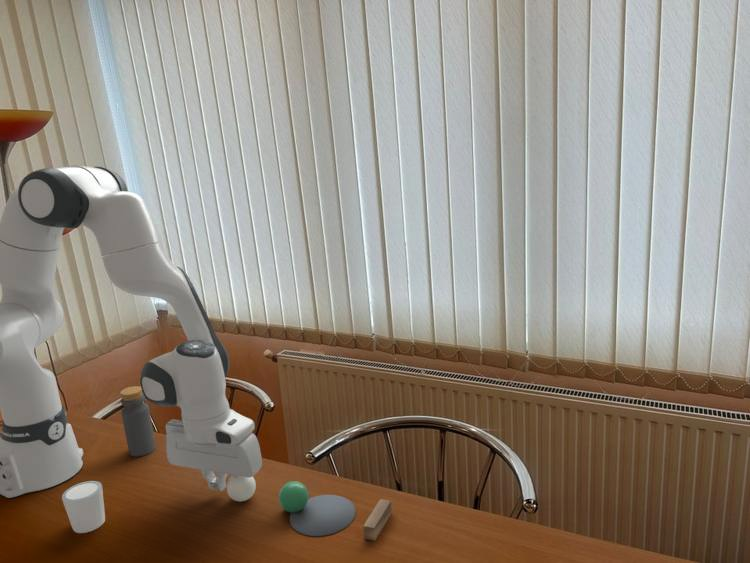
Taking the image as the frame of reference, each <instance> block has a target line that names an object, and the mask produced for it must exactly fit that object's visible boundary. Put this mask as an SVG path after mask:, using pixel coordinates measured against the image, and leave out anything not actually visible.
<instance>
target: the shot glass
mask: <svg viewBox="0 0 750 563" xmlns="http://www.w3.org/2000/svg"><path fill="white" fill-rule="evenodd" d="M103 491H104V490H103V484H102V483H101V482H100V481H95V480H88V481H83V482H80V483H76V484H74V485H72V486H70V487H69V488H67V489H66V490H65V491H64V492H63V493H62V495H61V500H62V503H63V506H64V508H65V511H66V514H67V517H68V520H69V522H70V525H71V526H70V527H71V528H72V531H74V532H75V533H77V534H86V533H88V532H89V533H90V532H93V531H94V530H97V529H99V528H100V527H101V526H103V524H104V523H105V521H106V514H105V513H106V512H105V503H104V492H103Z"/></svg>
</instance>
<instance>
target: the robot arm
mask: <svg viewBox="0 0 750 563" xmlns="http://www.w3.org/2000/svg"><path fill="white" fill-rule="evenodd" d="M19 183H20V184H19V186H18V188H15V189H14V190H13V191H12V192H11V193H10V194H9V197H8V199H7V200H6V204H5V206H4V208H3V212H2V215H1V218H0V289H1V299H0V413H1V415H2V420H1V421H0V428H1V432H0V495H1V496H4V497H5V498H8V499H10V498H11V499H12V498H16V497H18V496H22V495H25V494H27V493H33V492H37V491H42V490H46V489H49V488H52V487H55V486H57V485H59V484H62V483H63V482H66V481H67V480H69V479H71V478H72V477H74V476H75V475H76V474H77V473H79V472H80V470H81V468H82V467H83V464H84V462H83V460H82V458H83V456H84V450H83V448H82V447H79V446H78V443H77V439H76V436H75V434H74V430H73V428H72V425H71V424H70V423H68V417H67V412H66V409H65V407H64V405H62V402H61V397H60V392H59V387H58V384H57V379H56V378H57V377H56V376H55V374H54V373H53V372H52V371H51V370H49V369H48V368H44V367H42V366H41V364H40V363H39V361H38V359H37V358H36V357H37V356H36V354H35V348H37V347H39V346H40V345H42V344H43V343H45V342H46V341H48V340H50V339H51V337H53V335H54V334H56V332H57V331H58V330H59V329H60V327H61V326H62V324H63V322H64V318H65V317H64V316H65V315H64V310H63V307H62V305H61V304H60V302H59V301H58V300H57V299H56V298H57V297H56V292H55V279H56V278H55V277H56V271H57V266H58V261H59V255H60V250H61V244H62V240H63V239H62V238H63V233H64V230H65V229H73V230H75V229H78V228H79V227H80V226H83V227H85V228H88V229H89V230H90V231H91V232H92V233H93V235H94V236H95V239H96V241H97V244H98V249H99V251H100V255H101V259H102V262H103V265H104V268H105V271H106V274H107V276H108V278H109V279H110V281H111V283H112V284H113V285H114V286H116V287H117V289H120V290H121V291H123V292H124V293H128V294H131V295H134V296H140V297H149V298H157V299H161V300H163V301H166V302H167V303H168V304H169V305H170V306H171V308H172V309H173V311H174V312H175V315H176V317H177V319H178V321H179V323H180V325H181V327H182V330H183V331H184V334H185V336H186V338H187V341H183V342H181V343H179V344H177V345H176V347H175V348H174V350H172V351H170V352H169V351H168V352H166V353H164V354H161V355H159V356H157V357H154V358H152V359H150V360H149V361H147V362H145V364H143V366H142V369H141V370H140V379H139V380H140V382H139V383H140V387H141V389H142V394H144V396H145V400H147V401H148V402H150V403H152V404H154V405H156V406H160V407H166V408H167V407H169V408H171V407H175V406H176V407H179V408H180V410H181V420H179V419H175V418H173V419H170V420H169V421H168V422H167V423H166V424H165V431H166V432H165V434H166V437H165V449H166V458H167V461H168V462H169V463H170V464H171V465H172V466H178V467H184V468H189V469H196V470H200V472H201V475H202V476H203V478H204V479H205V481H206V482H207V485H208V489H209V490H216V491H221V492H223V491H224V490H225V489H227V481H226V479H227V477H228V476H232V475H236V476H242V477H248V478H251V477H252V476H253V477H254V476H255V475H256V474H257V473H258V472H259V470H261V468H262V467H263V460H262V459H263V458H262V453H261V447H260V443H259V441H258V440H259V439H258V438H257V436H256V435H255V433H253V432H254V430H255V429H256V428H255V426H256V425H255V421H254V420H252V419H251V418H249V417H246V416H245V415H242V414H240V413H239V412H236V411H235V410H234V409H232V408H230V404H229V401H228V399H227V396H226V388H227V383H226V378H227V376H228V374H229V373H228V372H229V370H230V369H229V368H230V356H229V354H228V350H227V349H226V348H225V346H224V344H223V342H221V340H220V338H219V337H218V336H217V334H216V332H215V329H214V327H213V326H212V323H211V321H210V318H209V316H208V314H207V312H206V310H205V308H204V305H203V303H202V301H201V300H200V297H199V294H198V293H197V290H196V288H195V286H194V284H193V283H192V281H191V279H190V277H189V276H188V274H187V273H186V271H185V270H184V269H183V268H182V267H179V266H176V264H175V263H174V262H173V261H172V260H171V258H170V257H169V255H168V253H167V251H166V250H165V247H164V245H163V242H162V239H161V235H160V232H159V231H158V227H157V224H156V223H155V220H154V217H153V216H152V213H151V211H150V209H149V207H148V206H147V203H146V202H145V200H144V198H143V197H141V195H139V194H137V193H135V192H133V191H128V186H127V183H126V181H125V180H124V179H123V177H122V176H121V175H119V173H117V172H115V171H113V170H111V169H108V168H106V167H102V166H87V165H70V166H64V167H63V166H60V167H55V168H54V167H45V168H41V169H36V170H35V171H32V172H30V173H27V175H26V176H24V178H23V179H22V180H21V181H20V182H19ZM215 473H216V474H215Z"/></svg>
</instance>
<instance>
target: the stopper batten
mask: <svg viewBox="0 0 750 563" xmlns="http://www.w3.org/2000/svg"><path fill="white" fill-rule="evenodd" d="M392 511H393V510H392V501H391V500H388V499H383V498H380V499H379V500H378V502H377V504H376V505H375V507H374V508H373V510H372V512H371V513H370V515H369V516H368V518H367V519H366V521H365V523H364V524H363V526H362V527H363V538H364V539H365V540H369V541H375V542H376V541H377V539H378V537H379V535H380V534H381V532H382V530H383V529H384V527H385V525H386V523H387V522H388V520H389V518H390V517H391V515H392V513H393V512H392Z"/></svg>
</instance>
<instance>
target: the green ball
mask: <svg viewBox="0 0 750 563" xmlns="http://www.w3.org/2000/svg"><path fill="white" fill-rule="evenodd" d="M308 499H309V491H308V489H307V487H306V485H304V484H303V483H301V482H300V481H297V480H296V481H292V480H291V481H289V482H287V483H284V485H283V486H282V487H281V489H280V490H279V493H278V502H279V505H280V507H281V508H282V509H283V510H284V511H285V512H288V513H290V514H291V513H295V512H299V511H301V510H302V509H303V508H304V507H305V506H306V504H307V502H308Z"/></svg>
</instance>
